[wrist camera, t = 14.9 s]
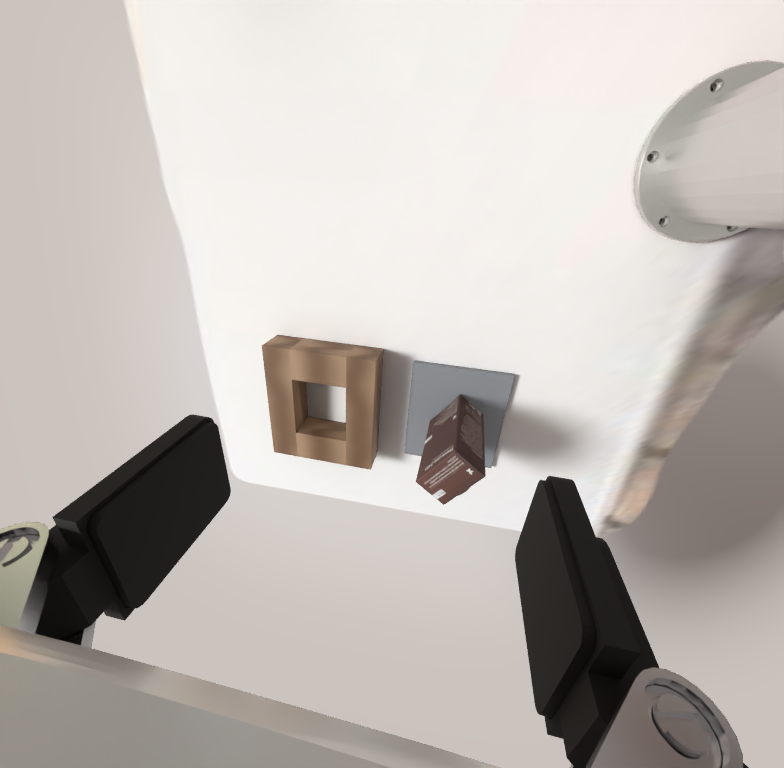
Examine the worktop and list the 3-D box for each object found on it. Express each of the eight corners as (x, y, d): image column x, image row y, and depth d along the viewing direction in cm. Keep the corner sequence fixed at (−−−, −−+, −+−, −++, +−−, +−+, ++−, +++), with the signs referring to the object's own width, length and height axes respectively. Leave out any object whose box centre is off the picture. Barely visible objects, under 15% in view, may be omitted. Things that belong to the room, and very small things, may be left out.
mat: (513, 374, 42) (514, 376, 41) (490, 465, 48) (491, 468, 48) (414, 360, 43) (413, 362, 43) (405, 450, 50) (404, 453, 49)
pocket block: (383, 348, 43) (375, 361, 40) (377, 451, 51) (370, 469, 47) (277, 334, 45) (261, 345, 42) (286, 435, 53) (274, 451, 49)
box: (458, 391, 43) (455, 450, 33) (484, 413, 44) (489, 479, 34) (425, 419, 46) (413, 483, 36) (451, 440, 47) (446, 508, 36)
